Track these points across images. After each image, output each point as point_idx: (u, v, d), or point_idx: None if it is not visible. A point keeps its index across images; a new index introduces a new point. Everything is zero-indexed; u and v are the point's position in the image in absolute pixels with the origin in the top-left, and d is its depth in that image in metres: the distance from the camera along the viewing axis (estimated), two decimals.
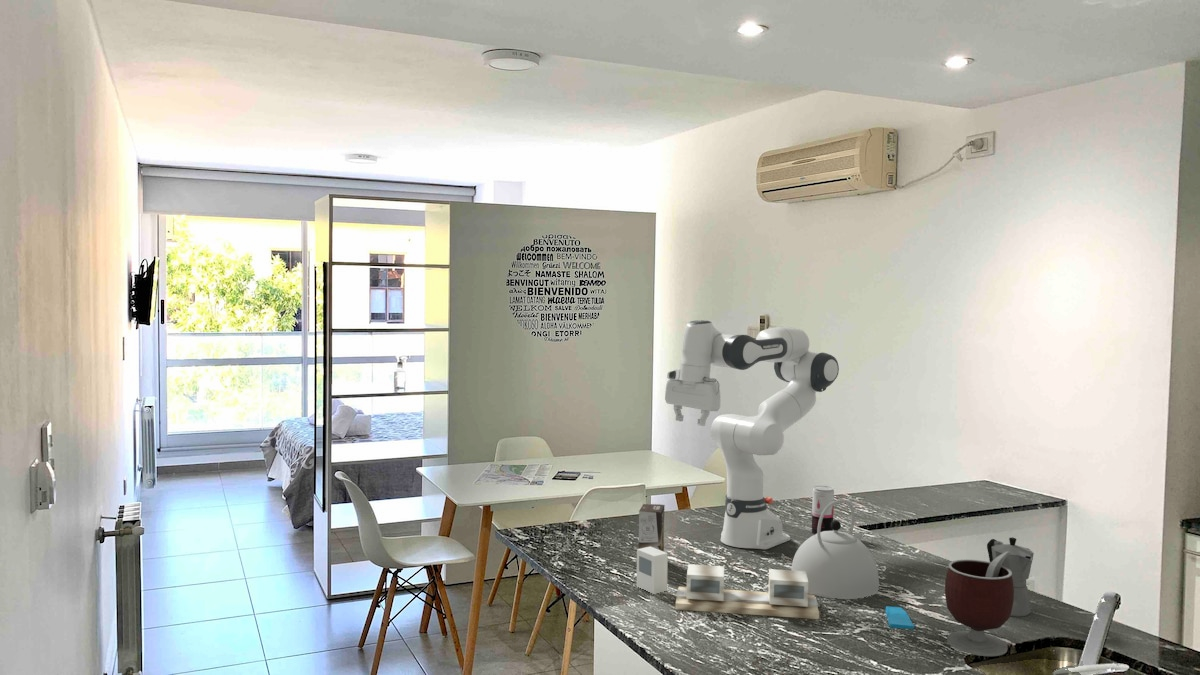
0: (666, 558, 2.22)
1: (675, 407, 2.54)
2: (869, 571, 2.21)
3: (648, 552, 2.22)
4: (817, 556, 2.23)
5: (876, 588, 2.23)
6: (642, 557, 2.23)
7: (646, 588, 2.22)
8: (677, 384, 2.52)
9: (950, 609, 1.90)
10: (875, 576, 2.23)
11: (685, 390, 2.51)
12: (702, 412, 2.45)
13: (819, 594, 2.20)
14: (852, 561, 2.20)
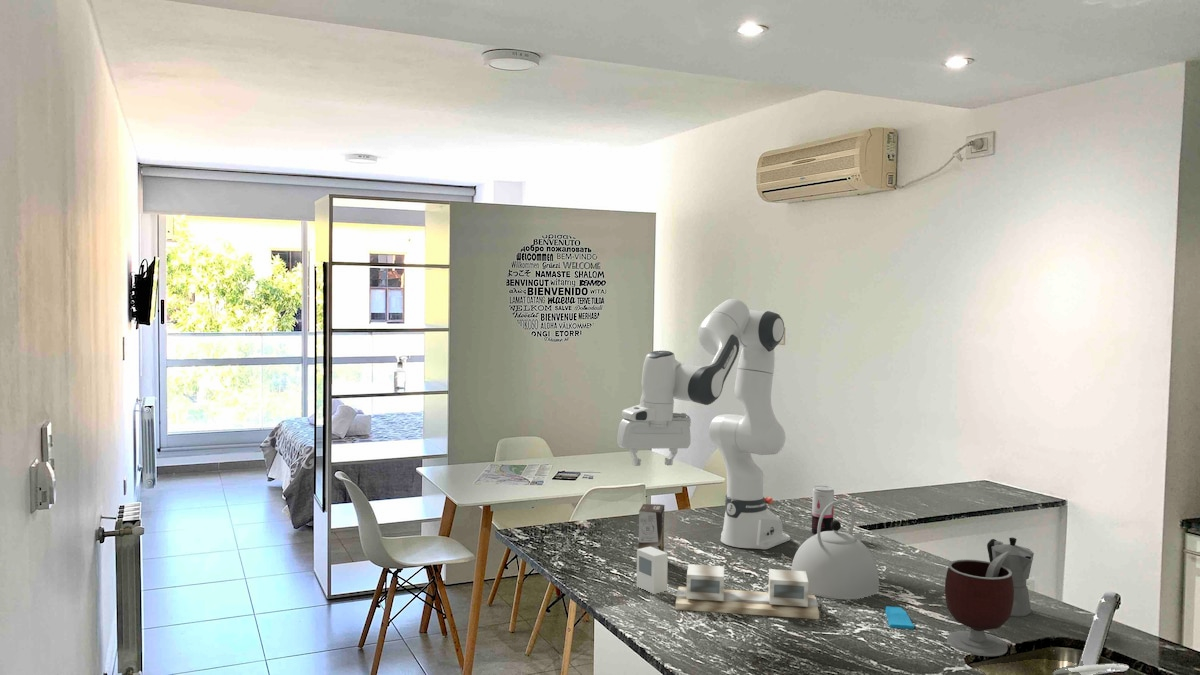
0: (666, 558, 2.22)
1: (635, 451, 2.23)
2: (870, 571, 2.21)
3: (648, 552, 2.22)
4: (817, 556, 2.23)
5: (876, 588, 2.23)
6: (642, 557, 2.23)
7: (646, 588, 2.22)
8: (644, 425, 2.22)
9: (950, 609, 1.90)
10: (875, 576, 2.22)
11: (652, 430, 2.24)
12: (675, 451, 2.28)
13: (819, 594, 2.20)
14: (852, 561, 2.20)
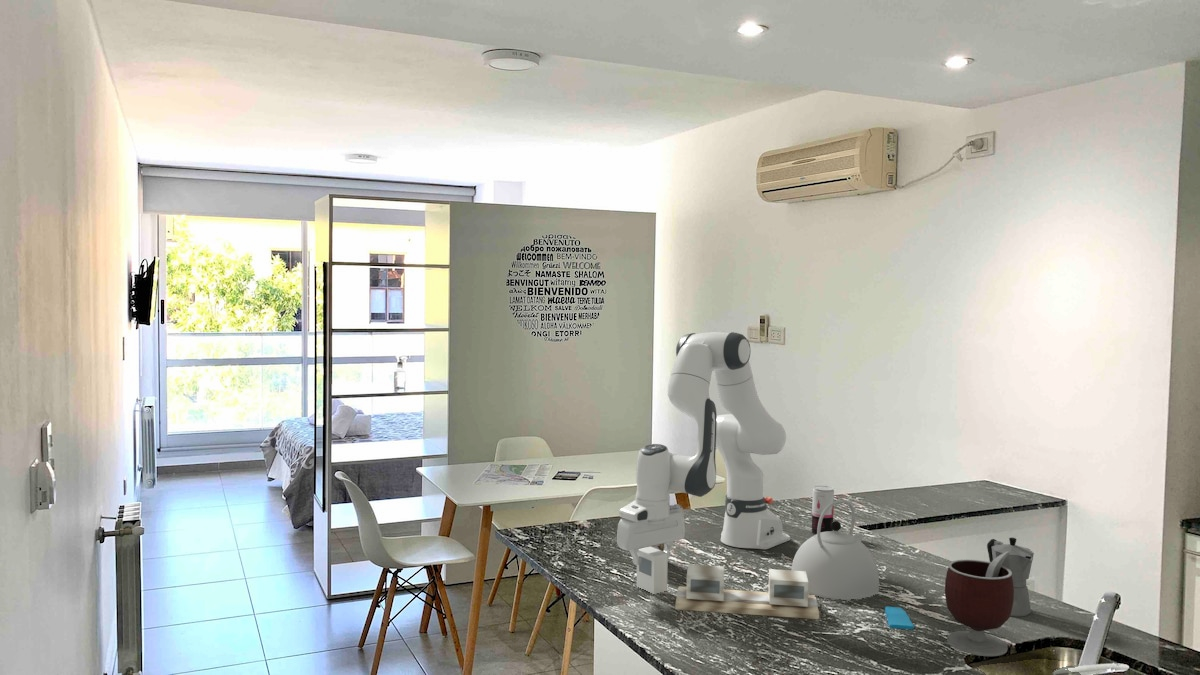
0: (666, 558, 2.22)
1: (636, 551, 2.19)
2: (870, 572, 2.21)
3: (648, 552, 2.22)
4: (817, 556, 2.22)
5: (876, 589, 2.22)
6: (642, 557, 2.23)
7: (646, 588, 2.22)
8: (644, 524, 2.18)
9: (950, 609, 1.90)
10: (875, 577, 2.22)
11: (651, 527, 2.21)
12: (671, 543, 2.26)
13: (819, 595, 2.20)
14: (852, 562, 2.20)
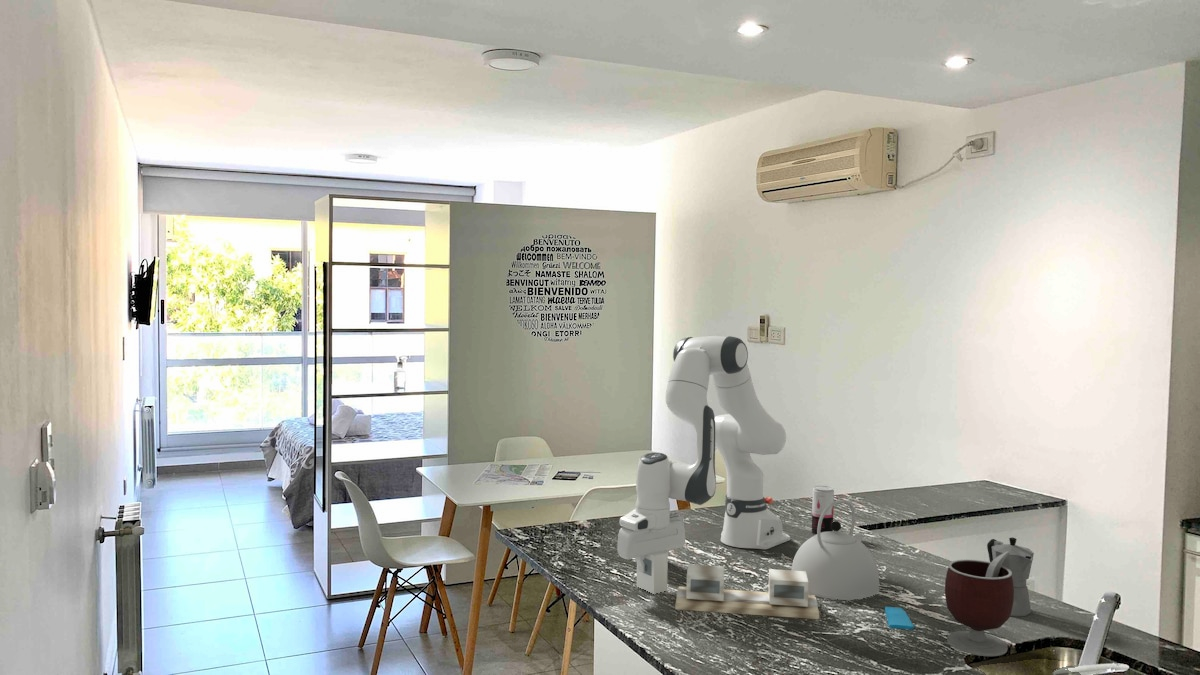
0: (666, 558, 2.22)
1: (642, 558, 2.20)
2: (870, 572, 2.20)
3: None
4: (817, 556, 2.22)
5: (876, 589, 2.22)
6: None
7: (646, 588, 2.22)
8: (645, 533, 2.18)
9: (950, 609, 1.90)
10: (875, 577, 2.22)
11: (651, 536, 2.21)
12: None
13: (819, 595, 2.20)
14: (852, 562, 2.19)
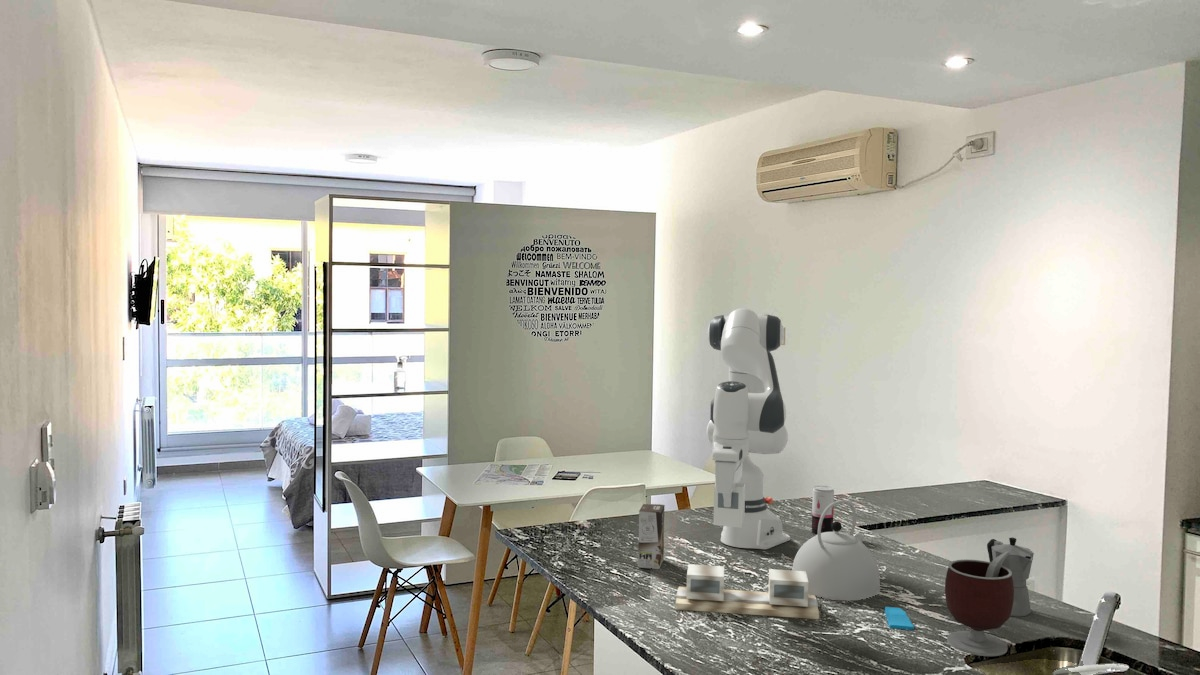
0: (744, 489, 2.14)
1: (731, 492, 2.09)
2: (870, 572, 2.20)
3: None
4: (817, 557, 2.22)
5: (877, 589, 2.22)
6: None
7: (730, 523, 2.12)
8: None
9: (950, 609, 1.90)
10: (876, 577, 2.22)
11: None
12: None
13: (819, 595, 2.19)
14: (853, 562, 2.19)
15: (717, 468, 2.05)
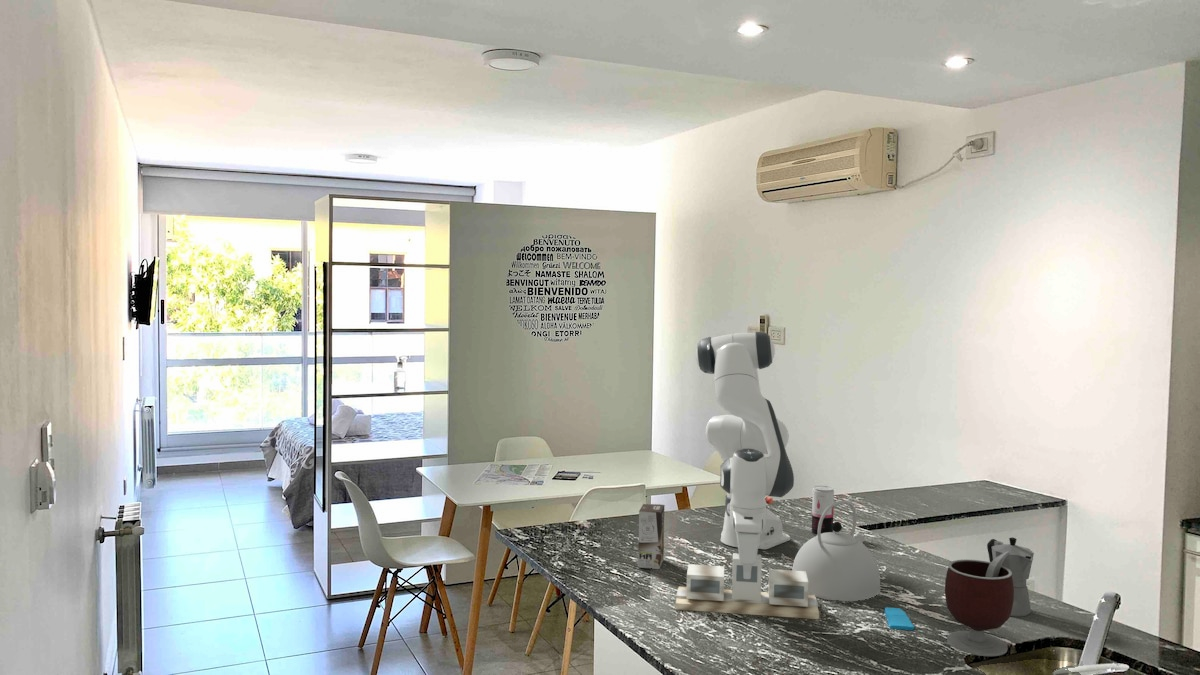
0: None
1: None
2: (870, 573, 2.20)
3: None
4: (817, 557, 2.22)
5: (877, 590, 2.21)
6: (742, 565, 2.11)
7: (748, 596, 2.11)
8: None
9: (950, 609, 1.90)
10: (876, 578, 2.21)
11: None
12: None
13: (819, 596, 2.19)
14: (852, 563, 2.19)
15: (740, 540, 2.03)
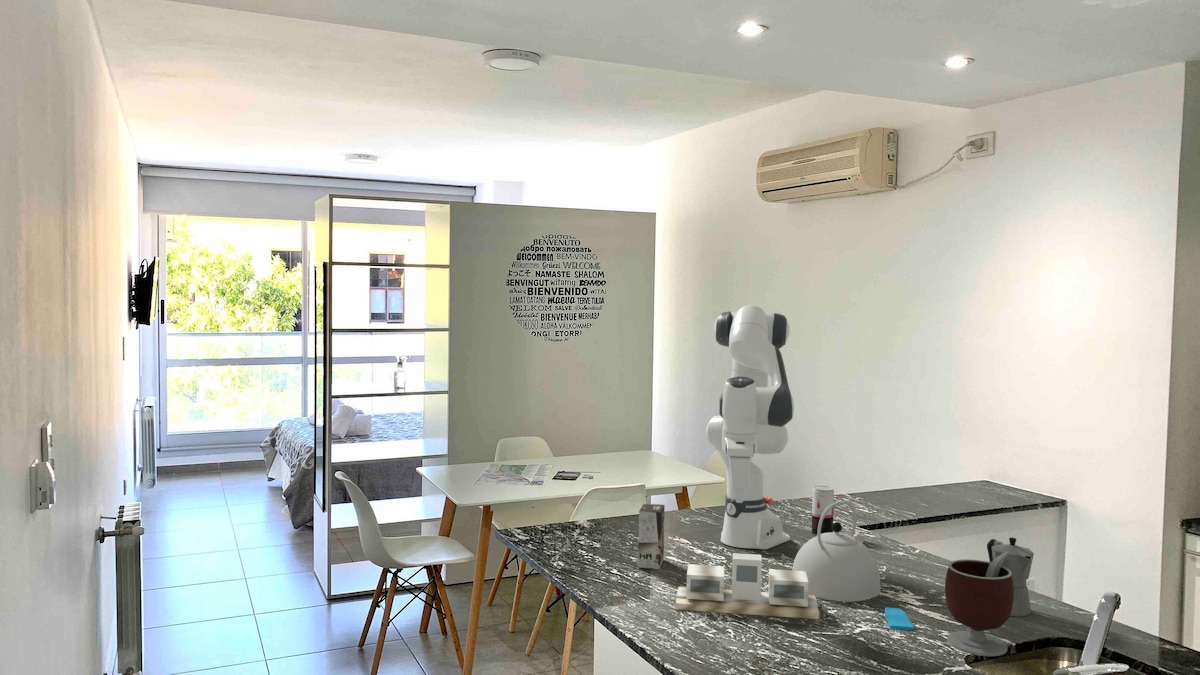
0: None
1: (743, 487, 2.11)
2: (870, 574, 2.19)
3: (748, 558, 2.11)
4: (817, 558, 2.21)
5: (877, 591, 2.21)
6: (742, 565, 2.11)
7: (748, 596, 2.11)
8: None
9: (950, 609, 1.90)
10: (876, 578, 2.21)
11: None
12: None
13: (819, 596, 2.19)
14: (852, 563, 2.18)
15: (733, 464, 2.07)
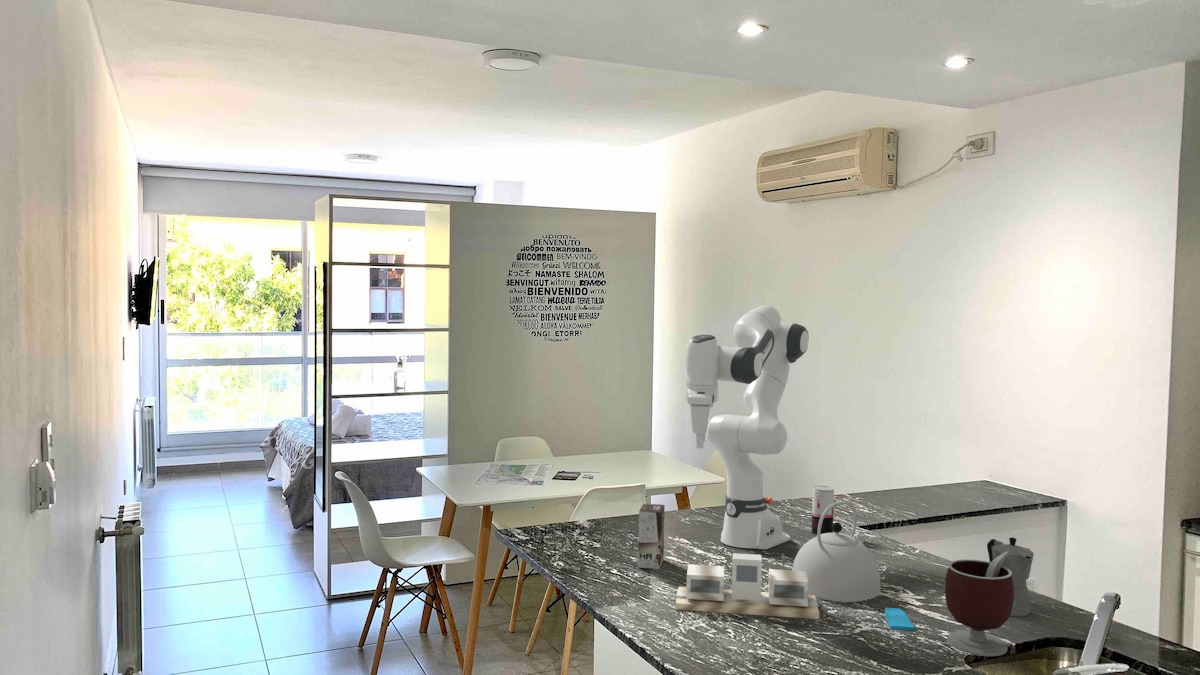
0: None
1: (703, 434, 2.31)
2: (870, 574, 2.19)
3: (748, 558, 2.11)
4: (817, 558, 2.21)
5: (877, 591, 2.21)
6: (742, 565, 2.11)
7: (748, 596, 2.11)
8: None
9: (950, 609, 1.90)
10: (876, 579, 2.20)
11: None
12: None
13: (819, 596, 2.19)
14: (852, 564, 2.18)
15: (693, 411, 2.27)
